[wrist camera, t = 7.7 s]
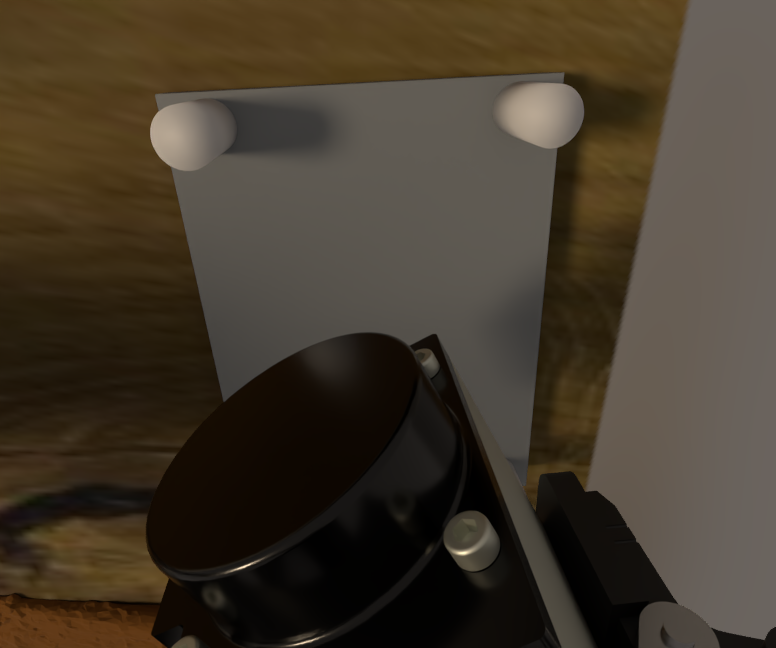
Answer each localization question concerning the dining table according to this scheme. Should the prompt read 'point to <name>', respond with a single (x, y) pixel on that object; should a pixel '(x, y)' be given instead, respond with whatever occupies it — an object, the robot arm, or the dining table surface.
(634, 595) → the robot arm
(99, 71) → the dining table surface
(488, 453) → the pneumatic valve
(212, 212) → the peg board
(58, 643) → the primitive tool
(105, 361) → the dining table surface
